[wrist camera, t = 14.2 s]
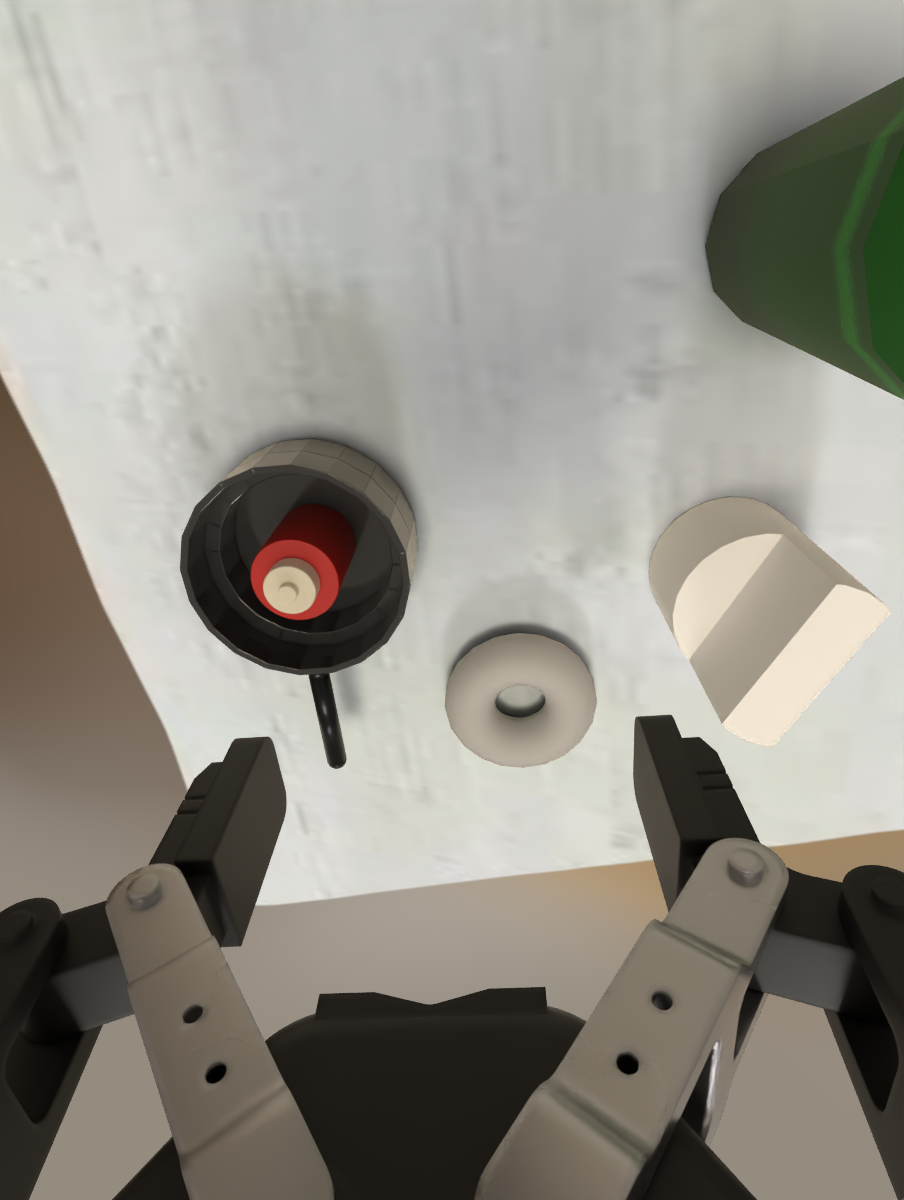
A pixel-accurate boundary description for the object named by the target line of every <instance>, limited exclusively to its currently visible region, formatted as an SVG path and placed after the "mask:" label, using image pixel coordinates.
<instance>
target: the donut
mask: <svg viewBox="0 0 904 1200" xmlns="http://www.w3.org/2000/svg"><path fill="white" fill-rule="evenodd" d="M517 685H526V686H531V687H534V688H537V689H538V690H540V691H541V692H542V693H543V695H544V696H545V704H544V706H543V707H542V709H541V710H540V711H538V712H537V713H535V714H533V715H531V716H527V717H522V718H518V717H510V716H508V715H505V714H503V713H501V712H500V711H499V710H498V709H497V707H496V705H495V699H496V698H497V696H498V694H499V693H500V692H501V691H502V690H505V689H507V688H509V687H511V686H517ZM596 703H597V698H596V692H595V687H594V681H593V678H592V676H591V675H590V673H589V671H588V670H587V668H586V666H585V665H584V663H583V661H582V660H581V658H580V657H579V656H578V655H576V654H575V653H574V652H573V651H571V650H570V649H569V648H568V647H566V646H565V645H564V644H562V643H560V642H557V641H555V640H552V639H549V638H547V637H544V636H542V635H535V634H524V633H514V634H509V635H503V636H498V637H494V638H492V639H490V640H488V641H486V642H484V643H482V644H480V645H478V646H476V647H474V648H472V649H471V650H470V651H469V652H468V653H467V654H466V655H465V656H464V657H463V658H462V659H461V660H460V661H459V662H458V663H457V665H456V667H455V669H454V671H453V673H452V675H451V677H450V679H449V681H448V683H447V687H446V698H445V708H446V712H447V716H448V719H449V723H450V726H451V729H452V730H453V731H454V733H455V734H456V736H457V737H458V738H459V740H460V741H461V742H462V744H463V745H464V746H465V747H466V748H468V749H469V750H471V751H472V752H473V753H475V754H476V755H478V756H479V757H480V758H482V759H484V760H487V761H490V762H493V763H496V764H498V765H501V766H511V767H529V766H536V765H542V764H546V763H548V762H550V761H553V760H555V759H557V758H559V757H562V756H564V755H565V754H566V753H568V752H569V751H570V750H571V749H572V748H574V747H575V746H576V745H577V744H578V743H580V741H581V740H582V738H583V737H584V735H585V734H586V732H587V730H588V729H589V727H590V726H591V724H592V722H593V718H594V713H595V708H596Z"/></svg>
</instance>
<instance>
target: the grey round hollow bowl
mask: <svg viewBox="0 0 904 1200" xmlns="http://www.w3.org/2000/svg"><path fill="white" fill-rule="evenodd" d="M308 504H317V505H323V506H326V507H329V508H331V509H333V510H335V511H336V512H338V513H339V514H341V515H342V516H343V517H344V518H345V519H346V520H347V522H348V523H349V525H350V526H351V528H352V530H353V533H354V537H355V552H354V555H353V558H352V561H351V563H350V565H349V568H348V570H347V573H346V575H345V578H344V580H343V583H342V585H341V588H340V590H339V593H338V595H337V598H336V600H335V601H334V603H333V604H332V606H331V607H330V608H329V609H328V610H327V611H325V612H324V613H323V614H321V615H319V616H317V617H314V618H310V619H305V620H295V619H289V618H285V617H282V616H279V615H277V614H275V613H274V612H272V611H270V610H269V609H268V608H267V607H265V606H264V605H263V604H262V602H261V601H260V600H259V599H258V597H257V596H256V594H255V592H254V590H253V587H252V583H251V567H252V563H253V561H254V559H255V557H256V555H257V554H258V552H259V551H260V550H261V548H262V547H263V546H264V544H265V543H266V541H267V540H268V539H269V537H270V536H271V534H272V533H273V532H274V530H275V529H276V528H277V526H278V525H279V523H280V522H281V521H282V519H283V518H284V517H285V516H286V514H288V513H289V512H290V511H291V510H293V509H295V508H297V507H299V506H302V505H308ZM417 550H418V543H417V535H416V527H415V520H414V516H413V514H412V512H411V510H410V507H409V505H408V503H407V501H406V499H405V497H404V495H403V493H402V491H401V489H400V488H399V486H398V485H397V484H396V483H395V482H394V481H393V480H392V479H391V478H390V477H389V476H388V475H387V474H386V473H385V471H384V470H383V469H382V468H381V467H380V466H379V465H378V464H376V463H375V462H373V461H372V460H370V459H368V458H366V457H365V456H363V455H361V454H359V453H358V452H356V451H354V450H352V449H351V448H349V447H347V446H344V445H340V444H335V443H331V442H326V441H322V440H318V439H302V440H291V441H280V442H277V443H275V444H273V445H270V446H268V447H266V448H264V449H262V450H259V451H257V452H255V453H253V454H251V455H249V456H248V457H247V458H246V459H245V460H244V461H243V462H241V463H240V464H239V465H238V466H237V467H236V468H235V469H234V470H233V471H231V472H230V473H229V474H228V475H227V476H226V477H225V478H224V479H223V480H221V481H220V482H219V483H218V484H217V485H216V486H215V487H214V488H213V489H212V490H211V491H210V492H209V493H208V494H207V495H206V496H205V497H204V498H203V499H202V500H201V501H200V502H199V503H198V504H197V505H196V506H195V508H194V510H193V512H192V514H191V517H190V519H189V521H188V523H187V526H186V528H185V530H184V532H183V535H182V541H181V561H180V571H181V574H182V578H183V581H184V585H185V588H186V592H187V595H188V598H189V601H190V603H191V605H192V606H193V608H194V609H195V611H196V612H197V614H198V615H199V617H200V618H201V620H202V621H203V623H204V624H205V626H206V627H207V629H208V630H209V631H210V632H211V633H212V634H213V635H214V636H216V637H217V638H218V639H219V640H220V641H221V642H222V643H224V644H225V645H226V646H227V647H228V648H229V649H231V650H232V651H233V652H234V653H236V654H238V655H240V656H242V657H244V658H246V659H248V660H250V661H252V662H254V663H256V664H258V665H260V666H262V667H264V668H267V669H272V670H277V671H282V672H287V673H292V674H296V675H308V674H324V673H333V672H336V671H339V670H342V669H344V668H347V667H350V666H353V665H355V664H358V663H361V662H363V661H364V660H366V659H367V658H368V657H369V656H371V655H372V654H373V653H375V652H376V651H377V650H378V649H380V648H381V647H382V646H383V645H385V644H386V643H387V642H388V641H389V639H390V637H391V636H392V634H393V633H394V631H395V630H396V628H397V626H398V625H399V623H400V622H401V620H402V619H403V617H404V613H405V609H406V604H407V600H408V595H409V590H410V586H411V581H412V576H413V571H414V566H415V561H416V555H417Z"/></svg>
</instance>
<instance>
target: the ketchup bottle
mask: <svg viewBox="0 0 904 1200" xmlns="http://www.w3.org/2000/svg"><path fill="white" fill-rule="evenodd" d="M354 552H355V537H354V533H353V530H352V528H351V526H350V525H349V523H348V522H347V520H346V519H345V518H344V517H343V516H342V515H341V514H339V513H338V512H336V511H335V510H333V509H331V508H329V507H326V506H323V505H317V504H308V505H302V506H299V507H297V508H295V509H293V510H291V511H290V512H289V513H288V514H286V516H285V517H284V518H283V519H282V521H281V522H280V523H279V525H278V526H277V528H276V529H275V530H274V532H273V533H272V534H271V536H270V537H269V539H268V540H267V541H266V543H265V544H264V546H263V547H262V548H261V550H260V551H259V552H258V554H257V555H256V557H255V559H254V561H253V563H252V567H251V583H252V587H253V590H254V592H255V594H256V596H257V597H258V599H259V600H260V601H261V602H262V604H263V605H264V606H265V607H267V608H268V609H269V610H270V611H272V612H274V613H275V614H277V615H279V616H282V617H285V618H289V619H295V620H305V619H310V618H314V617H317V616H319V615H321V614H323V613H324V612H325V611H327V610H328V609H329V608H330V607H331V606H332V604H333V603H334V601H335V600H336V598H337V595H338V593H339V590H340V588H341V585H342V583H343V580H344V578H345V575H346V573H347V570H348V568H349V565H350V563H351V561H352V558H353V555H354Z"/></svg>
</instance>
